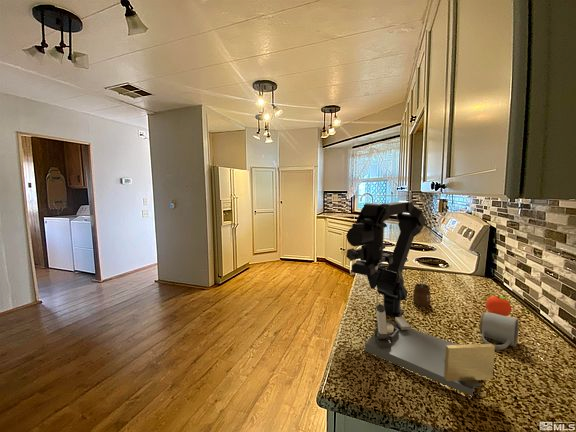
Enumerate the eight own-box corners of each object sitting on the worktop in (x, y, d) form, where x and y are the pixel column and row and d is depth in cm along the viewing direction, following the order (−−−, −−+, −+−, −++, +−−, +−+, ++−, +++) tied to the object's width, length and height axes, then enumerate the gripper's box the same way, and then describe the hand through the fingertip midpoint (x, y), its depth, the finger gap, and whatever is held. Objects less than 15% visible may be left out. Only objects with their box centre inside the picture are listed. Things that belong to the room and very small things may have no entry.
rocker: (394, 320, 78) (395, 317, 77) (403, 319, 78) (403, 317, 77) (401, 329, 73) (402, 326, 73) (410, 329, 73) (410, 326, 73)
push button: (383, 326, 74) (383, 321, 74) (395, 331, 72) (395, 326, 72) (378, 331, 72) (378, 326, 72) (390, 336, 69) (390, 331, 69)
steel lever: (377, 338, 68) (373, 304, 70) (386, 338, 68) (383, 304, 70) (380, 340, 66) (376, 305, 68) (390, 340, 66) (386, 304, 68)
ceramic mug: (483, 328, 79) (484, 305, 78) (517, 340, 73) (520, 315, 72) (474, 343, 72) (476, 318, 71) (512, 357, 66) (514, 329, 65)
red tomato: (507, 312, 89) (509, 293, 89) (519, 322, 83) (521, 302, 82) (481, 309, 92) (482, 291, 91) (490, 319, 85) (492, 299, 84)
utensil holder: (412, 304, 96) (414, 274, 95) (413, 298, 102) (414, 269, 101) (430, 307, 93) (431, 276, 92) (429, 301, 99) (431, 272, 98)
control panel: (387, 327, 80) (387, 315, 80) (480, 361, 64) (482, 346, 64) (364, 351, 69) (365, 336, 68) (472, 400, 52) (473, 381, 52)
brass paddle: (440, 376, 55) (442, 342, 54) (484, 375, 56) (487, 341, 55) (450, 387, 52) (452, 351, 52) (496, 385, 53) (499, 349, 52)
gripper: (363, 235, 93) (362, 275, 94) (336, 243, 79) (336, 290, 81) (394, 238, 85) (392, 282, 87) (370, 248, 72) (369, 300, 73)
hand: (372, 288), depth 82 cm, fingers closed
